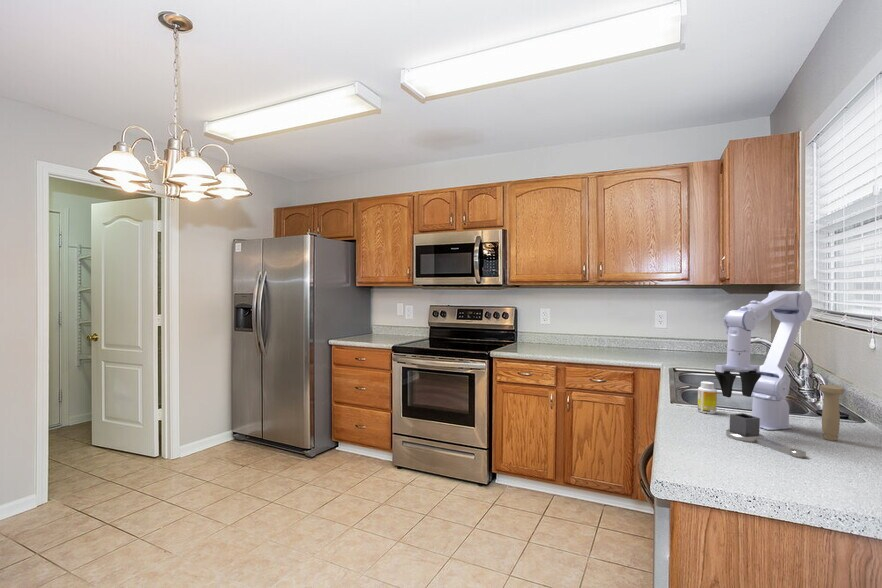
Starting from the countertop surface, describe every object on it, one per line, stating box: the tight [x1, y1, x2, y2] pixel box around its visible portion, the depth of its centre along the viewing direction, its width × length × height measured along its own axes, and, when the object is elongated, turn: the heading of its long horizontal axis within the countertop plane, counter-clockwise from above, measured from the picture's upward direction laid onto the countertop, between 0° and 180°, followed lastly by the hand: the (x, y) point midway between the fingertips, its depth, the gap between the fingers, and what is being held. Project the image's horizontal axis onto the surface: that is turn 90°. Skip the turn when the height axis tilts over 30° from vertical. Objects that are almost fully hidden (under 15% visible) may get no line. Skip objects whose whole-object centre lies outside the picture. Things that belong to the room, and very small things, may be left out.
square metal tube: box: [729, 413, 760, 437], centre depth 127 cm, size 5×5×5 cm
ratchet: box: [725, 428, 807, 459], centre depth 122 cm, size 9×21×5 cm, turn 16°
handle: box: [819, 384, 844, 442], centre depth 127 cm, size 5×6×15 cm
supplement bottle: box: [697, 380, 718, 415], centre depth 154 cm, size 6×6×10 cm
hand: (736, 396), depth 132 cm, fingers open, 7 cm apart
